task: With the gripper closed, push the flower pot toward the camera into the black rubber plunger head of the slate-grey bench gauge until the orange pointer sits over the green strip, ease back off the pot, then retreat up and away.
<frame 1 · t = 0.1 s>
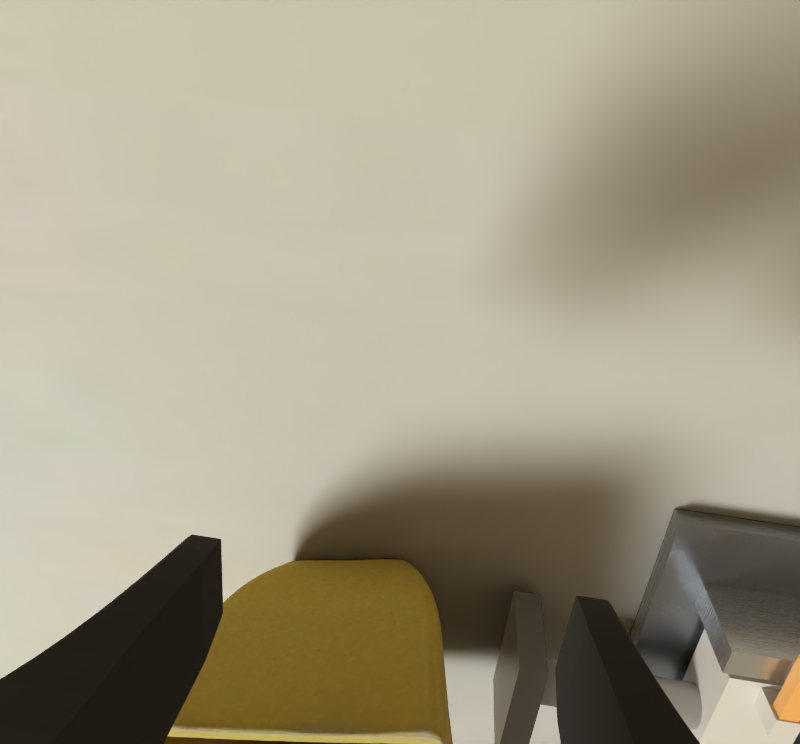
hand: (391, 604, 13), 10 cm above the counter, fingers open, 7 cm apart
plunger: (649, 680, 23), point 3 cm above the counter, slide at 0.0 cm
gauge housing: (776, 670, 26), on the counter
flower pot: (360, 599, 27), on the counter
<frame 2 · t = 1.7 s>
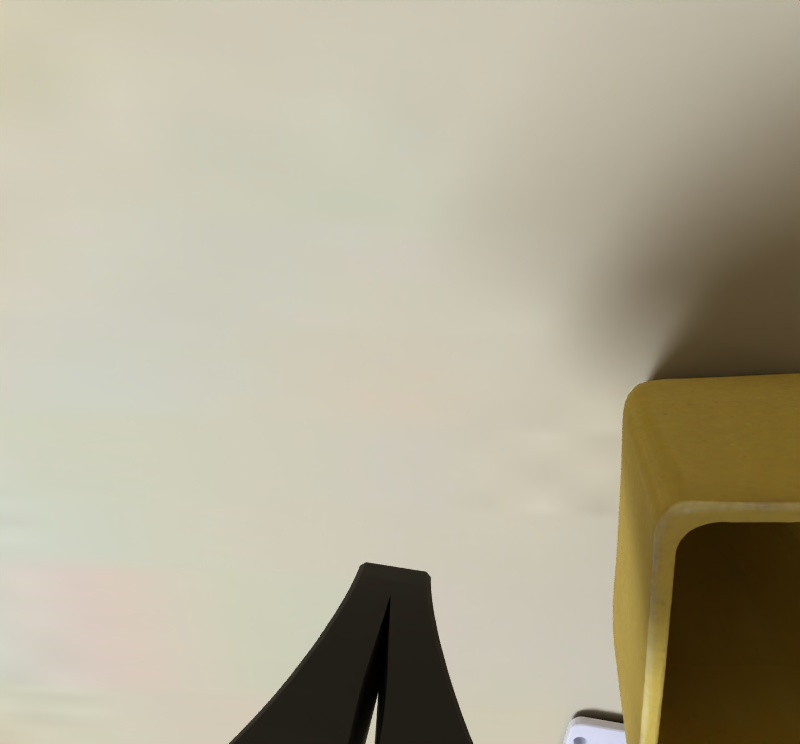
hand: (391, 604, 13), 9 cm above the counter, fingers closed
flower pot: (720, 441, 20), on the counter
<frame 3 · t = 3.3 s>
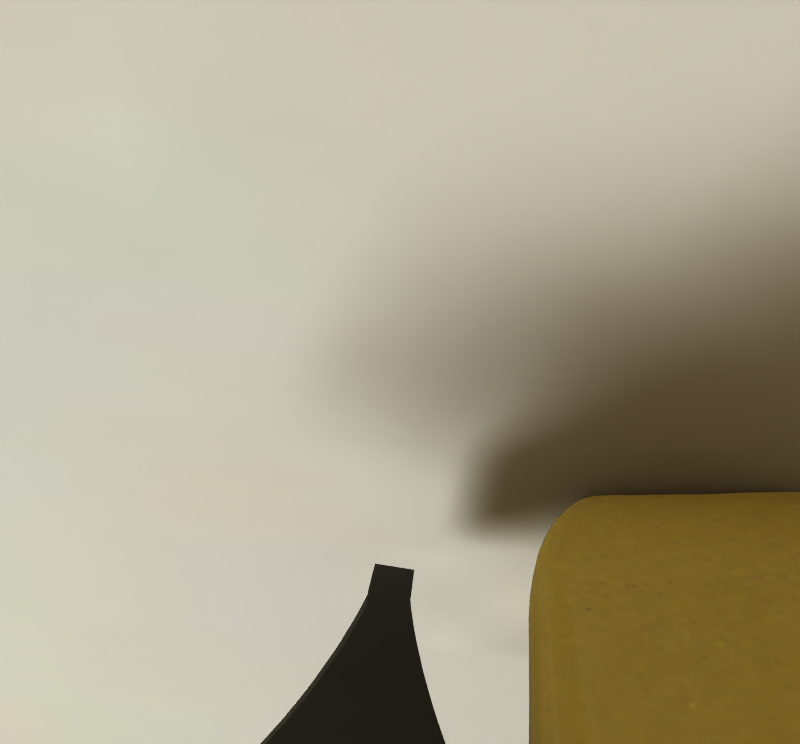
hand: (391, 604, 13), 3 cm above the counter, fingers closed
flower pot: (680, 571, 15), on the counter, touching gripper
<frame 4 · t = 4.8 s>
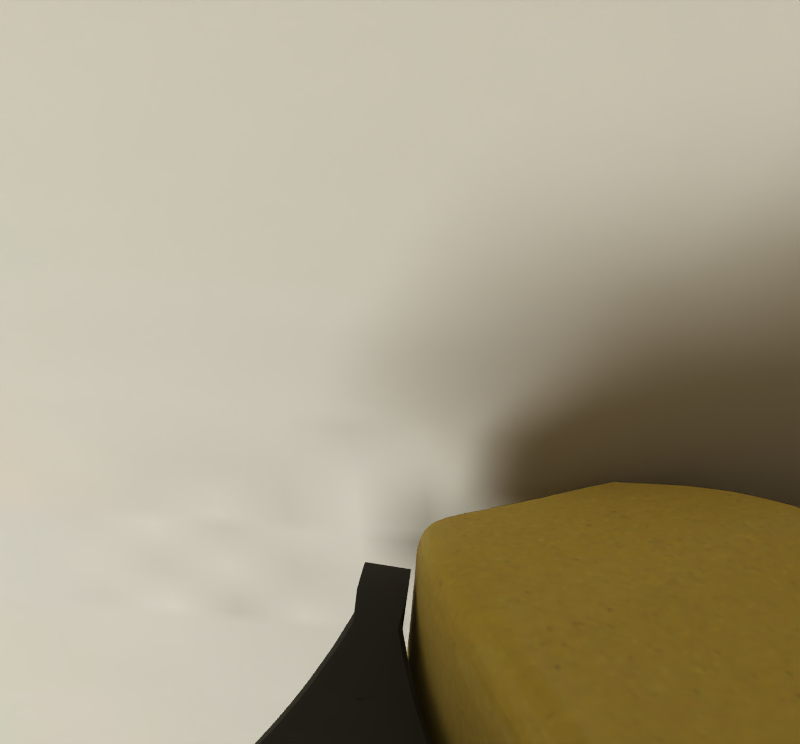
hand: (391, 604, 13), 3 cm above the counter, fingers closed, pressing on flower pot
flower pot: (508, 579, 15), point 1 cm above the counter, touching gripper, plunger
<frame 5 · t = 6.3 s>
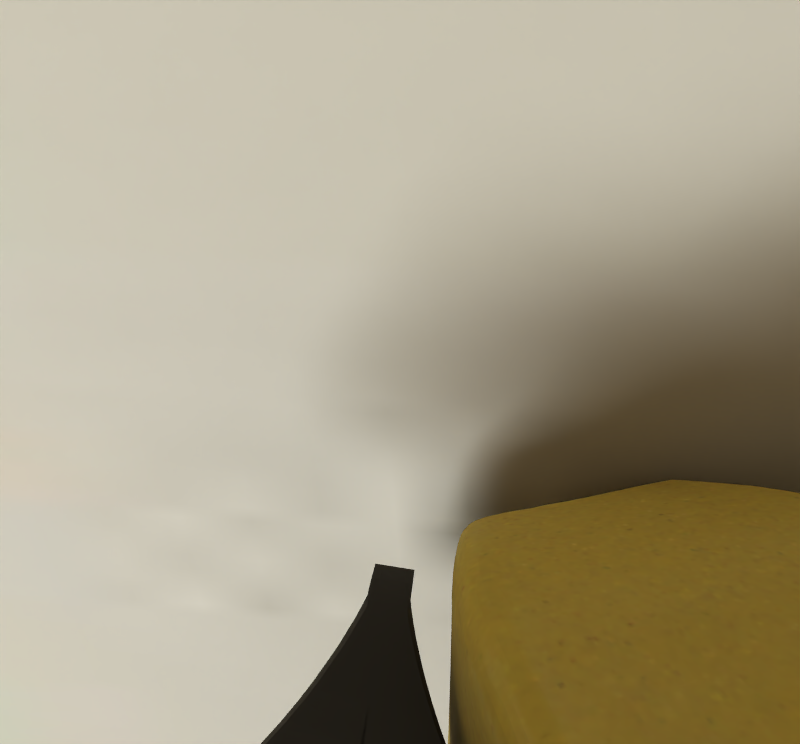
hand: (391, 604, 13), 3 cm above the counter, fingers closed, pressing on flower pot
flower pot: (562, 577, 14), point 1 cm above the counter, touching gripper
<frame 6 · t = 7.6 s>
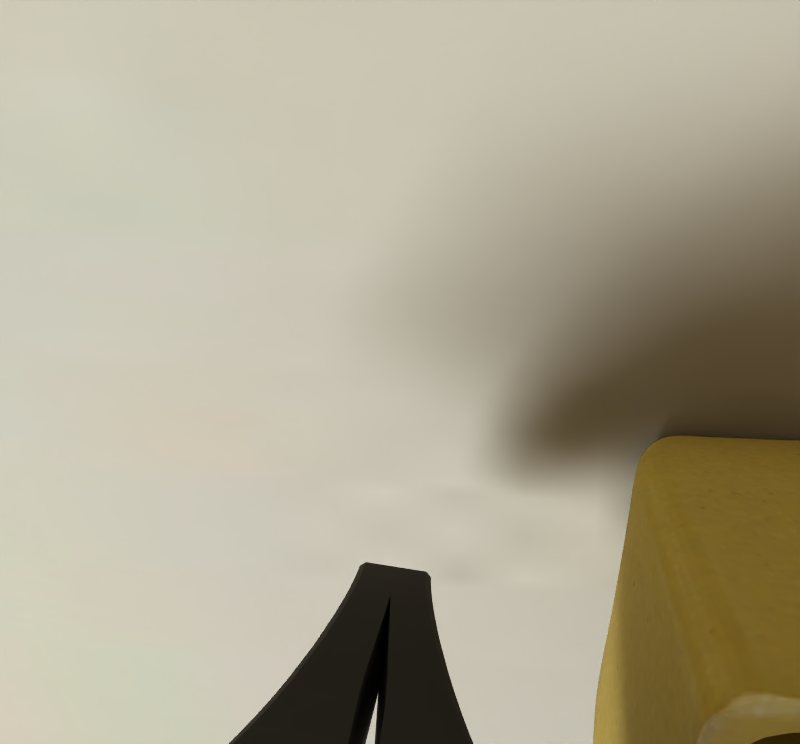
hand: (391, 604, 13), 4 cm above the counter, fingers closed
flower pot: (740, 514, 16), on the counter
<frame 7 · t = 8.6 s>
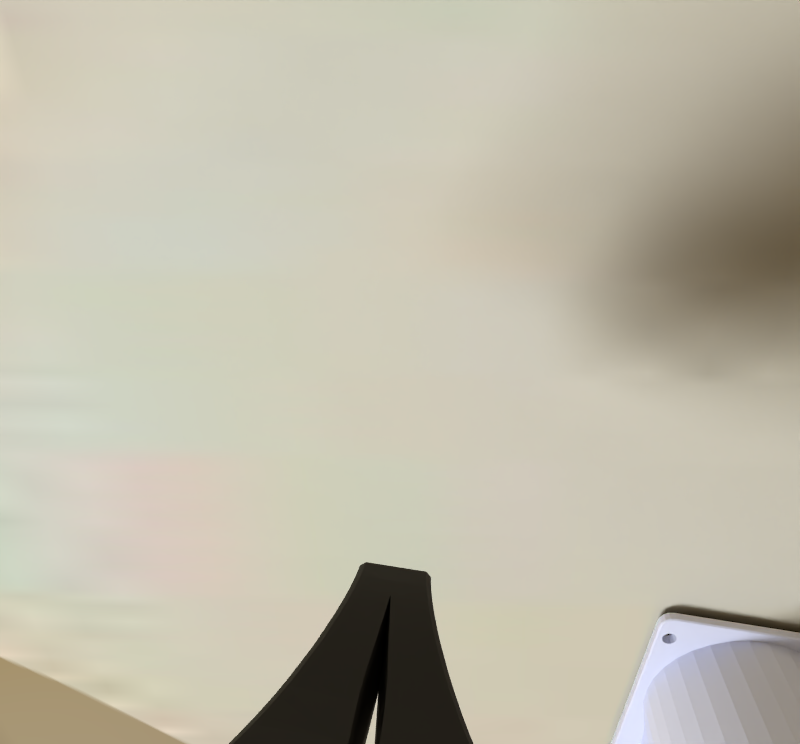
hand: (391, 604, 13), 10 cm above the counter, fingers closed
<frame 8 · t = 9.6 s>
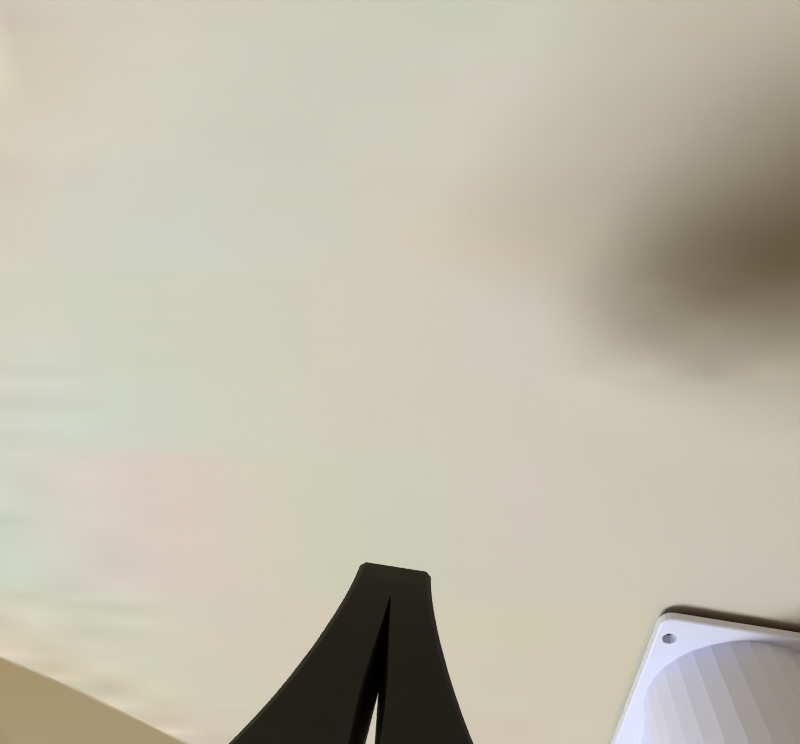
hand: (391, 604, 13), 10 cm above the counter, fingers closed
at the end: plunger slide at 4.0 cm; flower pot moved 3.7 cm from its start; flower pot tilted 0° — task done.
